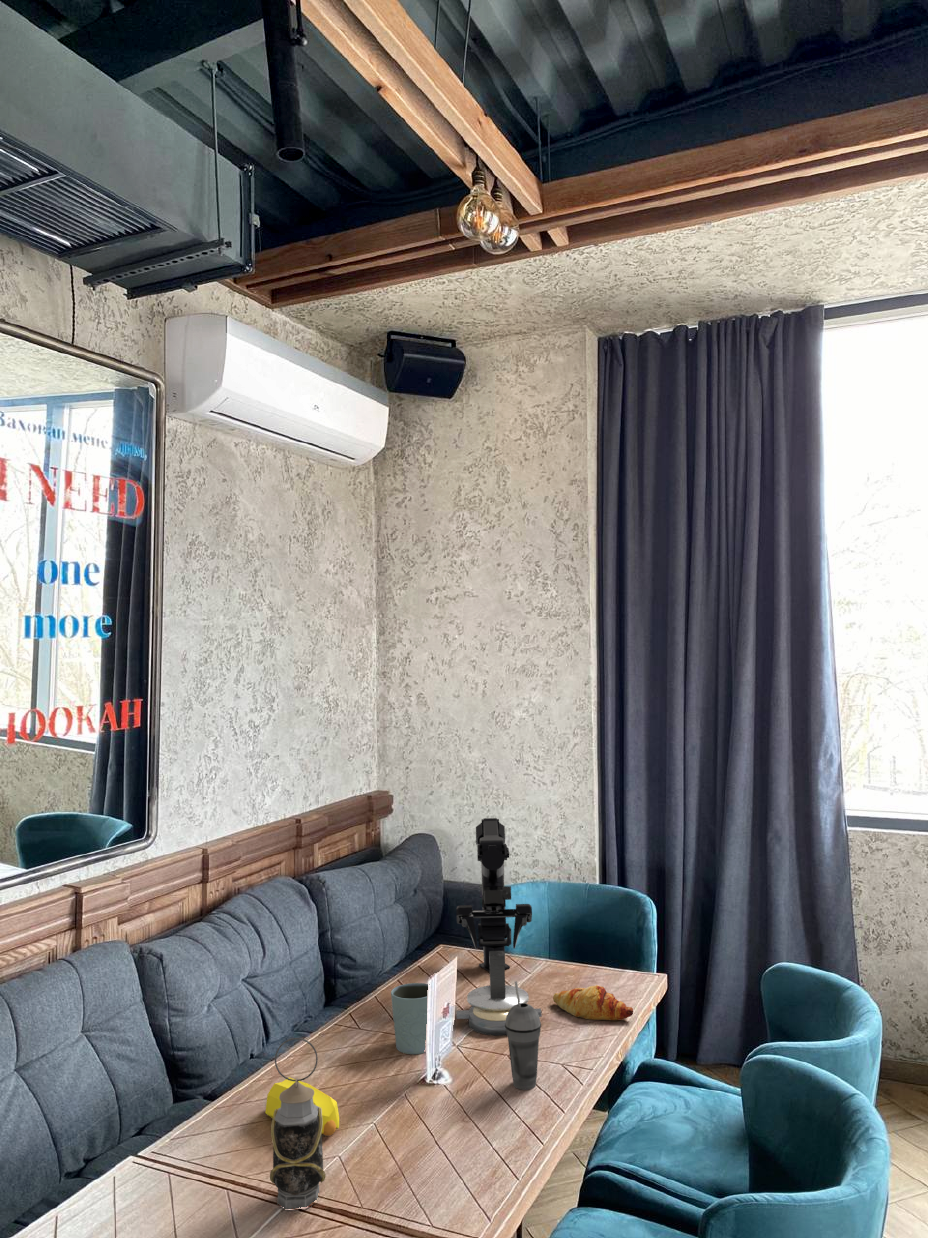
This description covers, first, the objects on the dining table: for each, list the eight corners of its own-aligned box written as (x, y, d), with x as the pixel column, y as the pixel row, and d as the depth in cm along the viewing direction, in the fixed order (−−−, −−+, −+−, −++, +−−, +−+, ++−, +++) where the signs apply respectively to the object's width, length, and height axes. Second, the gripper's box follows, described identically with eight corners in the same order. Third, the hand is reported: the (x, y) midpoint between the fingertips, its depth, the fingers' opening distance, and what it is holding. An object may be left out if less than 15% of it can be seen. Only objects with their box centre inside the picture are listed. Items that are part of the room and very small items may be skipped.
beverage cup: (540, 1094, 178) (537, 989, 179) (503, 1091, 180) (500, 987, 181) (545, 1077, 185) (542, 976, 186) (509, 1075, 187) (506, 974, 188)
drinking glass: (417, 1060, 195) (416, 1002, 196) (382, 1048, 201) (380, 992, 202) (447, 1043, 203) (445, 988, 204) (412, 1033, 209) (411, 979, 210)
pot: (457, 1012, 220) (456, 1000, 220) (539, 1010, 220) (538, 998, 220) (456, 1037, 206) (456, 1023, 206) (544, 1034, 206) (543, 1021, 206)
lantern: (329, 1183, 150) (326, 1027, 151) (323, 1213, 142) (320, 1047, 143) (275, 1186, 149) (272, 1029, 150) (266, 1216, 141) (263, 1050, 142)
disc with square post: (467, 989, 227) (466, 944, 227) (526, 987, 227) (525, 943, 227) (467, 1011, 212) (466, 964, 213) (530, 1010, 212) (529, 962, 213)
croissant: (548, 1023, 222) (539, 998, 219) (565, 991, 229) (556, 967, 227) (629, 1040, 210) (620, 1014, 207) (644, 1006, 217) (636, 980, 215)
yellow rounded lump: (289, 1101, 179) (256, 1117, 173) (288, 1066, 179) (255, 1080, 173) (350, 1132, 166) (316, 1149, 161) (349, 1094, 167) (315, 1110, 161)
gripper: (455, 874, 228) (456, 937, 219) (530, 873, 228) (534, 936, 218) (456, 892, 237) (457, 953, 227) (529, 890, 237) (533, 952, 227)
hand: (495, 948), depth 225 cm, fingers open, 9 cm apart
